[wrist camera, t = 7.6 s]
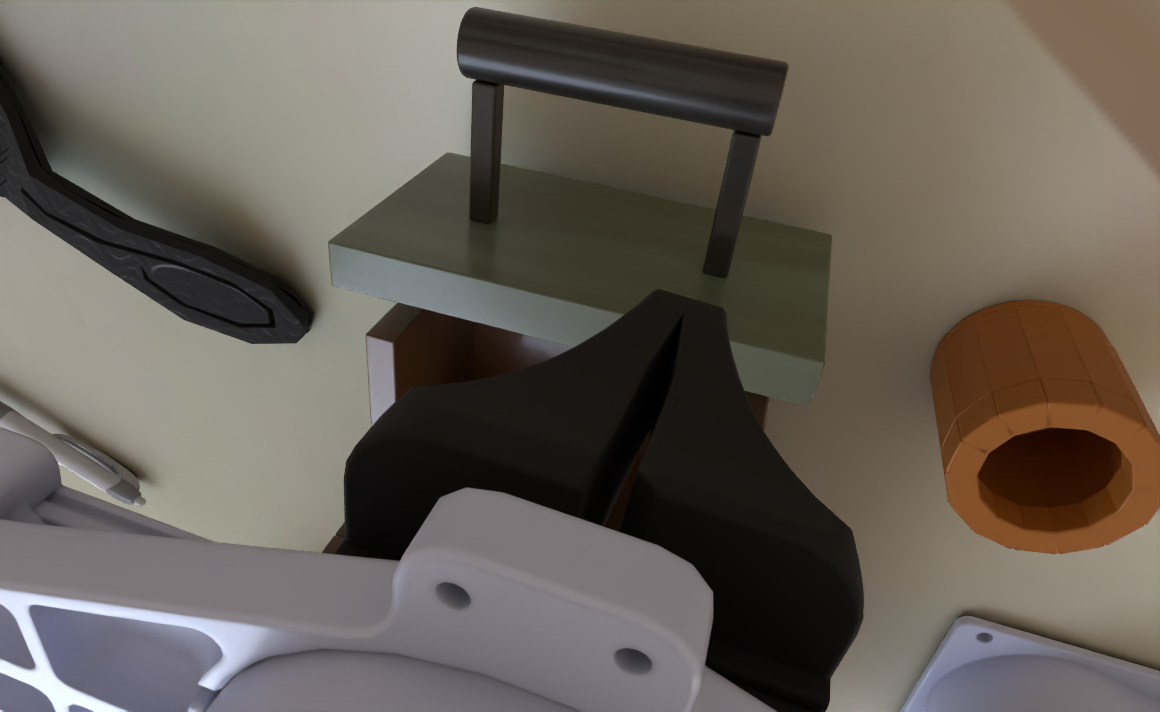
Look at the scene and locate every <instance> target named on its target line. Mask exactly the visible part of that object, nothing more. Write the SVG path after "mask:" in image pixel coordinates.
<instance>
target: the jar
mask: <svg viewBox="0 0 1160 712" xmlns="http://www.w3.org/2000/svg"><path fill="white" fill-rule="evenodd" d="M930 379H931V386H932V393H933V400H934V407H935V414H936V421H937V428H938V435H939V442H940V448H941V455H942V462H943V469H944V476H945V483H946V489H947V496H948V502H949V503H950V506H951V507H952V508H953V509H954V510H955V511H956V512H957V514H958V515H959V516H960V517H961V518H962V519H963V520H964V522H965V523H966V524H967V525H968V526H969V527H970V528H971V529H972V530H974V532H975V533H977V534H979V535H981V536H984V537H986V538H988V539H990V540H992V541H994V542H997V543H999V544H1001V545H1003V546H1005V547H1007V548H1010V549H1011V548H1013V549H1016V550H1024V551H1033V552H1041V553H1050V554H1057V553H1060V554H1063V553H1069V552H1075V551H1081V550H1087V549H1093V548H1098V547H1103V546H1104V544H1105V545H1109V544H1111V543H1113V542H1115V541H1117V540H1118V539H1120V538H1122V537H1124V536H1126V535H1128V534H1130V533H1132V532H1133V531H1135V530H1137V529H1139V528H1141V527H1143V526H1144V524H1148V522H1149V521H1150V520H1151V518H1152V517H1153V516H1154V514H1155V513H1156V512H1157V510H1158V509H1159V508H1160V435H1159V433H1158V431H1157V429H1156V427H1155V425H1154V423H1153V421H1152V419H1151V417H1150V415H1149V413H1148V411H1147V410H1146V408H1145V406H1144V404H1143V402H1142V400H1141V398H1140V396H1139V394H1138V392H1137V390H1136V388H1135V386H1134V385H1133V383H1132V381H1131V379H1130V377H1129V375H1128V373H1127V371H1126V369H1125V367H1124V365H1123V363H1122V361H1121V360H1120V358H1119V356H1118V354H1117V352H1116V350H1115V349H1114V348H1113V346H1112V345H1111V344H1110V342H1109V340H1108V339H1107V337H1106V335H1105V334H1104V332H1103V331H1102V330H1101V329H1100V328H1099V327H1098V325H1097V324H1096V323H1095V322H1093V321H1092V320H1091V319H1090V318H1088V317H1087V316H1085V315H1084V314H1082V313H1080V312H1078V311H1076V310H1074V309H1072V308H1069V307H1067V306H1063V305H1060V304H1056V303H1051V302H1045V301H1033V300H1027V301H1014V302H1007V303H1002V304H998V305H995V306H991V307H989V308H986V309H983V310H981V311H979V312H977V313H975V314H973V315H971V316H969V317H968V318H966V319H964V320H963V321H961V322H960V323H959V324H958V325H956V326H955V327H954V328H953V329H952V330H951V331H950V332H949V333H948V334H947V335H946V336H945V337H944V339H943V340H942V342H941V343H940V344H939V346H938V348H937V350H936V352H935V354H934V357H933V360H932V365H931V372H930Z"/></svg>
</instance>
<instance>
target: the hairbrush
mask: <svg viewBox="0 0 1160 712" xmlns="http://www.w3.org/2000/svg"><path fill="white" fill-rule="evenodd" d="M0 196H1V197H6V198H7V199H8V200H9V201H10V202H12V203H13V204H14V205H15V206H17V207H18V208H19V209H20V210H21V211H23V212H24V213H25V214H26V215H28V216H29V217H30V218H31V219H33V220H34V221H36V222H37V223H39V224H40V225H42V226H43V227H45V228H46V229H48V230H49V231H51V232H52V233H54V234H55V235H57V236H58V237H60V238H61V239H63V240H64V241H66V242H67V243H69V244H70V245H71V246H73V247H74V248H76V249H77V250H79V251H80V252H82V253H83V254H85V255H86V256H88V257H89V258H91V259H92V260H94V261H95V262H97V263H98V264H100V265H101V266H103V267H104V268H106V269H107V270H109V271H110V272H112V273H113V274H115V275H116V276H118V277H119V278H121V279H122V280H124V281H125V282H127V283H128V284H130V285H132V286H133V287H135V288H136V289H138V290H139V291H141V292H142V293H144V294H145V295H147V296H148V297H150V298H151V299H153V300H154V301H156V302H158V303H159V304H161V305H162V306H164V307H165V308H167V309H168V310H170V311H171V312H173V313H174V314H176V315H177V316H179V317H180V318H182V319H184V320H186V321H189V322H192V323H195V324H197V325H200V326H203V327H206V328H209V329H212V330H214V331H217V332H220V333H223V334H226V335H229V336H231V337H234V338H237V339H240V340H243V341H245V342H248V343H251V344H276V343H297V342H298V341H299V340H300V339H301V338H302V337H303V336H304V335H305V334H306V333H307V332H309V329H310V325H311V322H312V318H313V314H314V313H313V312H312V311H311V310H310V309H309V308H308V307H307V306H306V305H305V304H304V303H303V302H302V301H301V299H300V298H299V297H298V296H297V295H296V294H295V293H294V292H293V291H292V290H291V289H290V288H289V287H288V286H287V285H286V284H285V283H284V282H283V281H282V280H281V279H280V278H278V277H276V276H274V275H272V274H270V273H268V272H266V271H264V270H262V269H259V268H257V267H255V266H253V265H251V264H249V263H247V262H245V261H243V260H241V259H239V258H237V257H234V256H232V255H230V254H228V253H226V252H224V251H222V250H220V249H218V248H216V247H213V246H210V245H207V244H204V243H202V242H199V241H196V240H193V239H190V238H187V237H184V236H181V235H178V234H176V233H173V232H170V231H167V230H164V229H161V228H158V227H155V226H152V225H150V224H147V223H144V222H141V221H138V220H135V219H133V218H132V217H130V216H128V215H127V214H125V213H123V212H121V211H120V210H118V209H116V208H115V207H113V206H111V205H109V204H108V203H106V202H104V201H103V200H101V199H99V198H98V197H96V196H94V195H92V194H91V193H89V192H87V191H86V190H84V189H82V188H80V187H79V186H77V185H75V184H74V183H72V182H70V181H69V180H67V179H65V178H63V177H62V176H60V175H58V174H57V173H55V172H53V171H52V169H51V167H50V165H49V163H48V160H47V158H46V156H45V154H44V151H43V149H42V147H41V145H40V143H39V140H38V138H37V136H36V134H35V131H34V129H33V127H32V125H31V123H30V120H29V118H28V116H27V114H26V112H25V110H24V108H23V106H22V104H21V102H20V100H19V99H18V97H17V95H16V93H15V91H14V89H13V87H12V85H11V83H10V81H9V79H8V77H7V75H6V73H5V71H4V69H3V67H2V65H1V63H0Z"/></svg>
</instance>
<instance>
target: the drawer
mask: <svg viewBox="0 0 1160 712" xmlns="http://www.w3.org/2000/svg"><path fill="white" fill-rule="evenodd" d="M457 61H458V66H459V69H460V72H461V73H462V74H463V75H464V76H465V77H466V78H470V79H476V80H475V81H474V82H473V84H472V124H471V157H467V156H463V155H458V154H453V153H449V152H447V153H446V154H444V155H443V156H442V157H440V158H439V159H438V160H436V161H435V162H434V163H432V164H431V165H430V166H428V167H427V168H426V169H424V170H423V171H422V172H420V173H419V174H418V175H416V176H415V177H414V178H412V179H411V180H410V181H408V182H407V183H406V184H404V185H403V186H402V187H400V188H399V189H398V190H396V191H395V192H394V193H392V194H391V195H390V196H388V197H387V198H386V199H384V200H383V201H382V202H380V203H379V204H378V205H376V206H375V207H374V208H372V209H371V210H370V211H368V212H367V213H366V214H364V215H363V216H362V217H360V218H359V219H358V220H356V221H355V222H354V223H352V224H351V225H350V226H348V227H347V228H346V229H344V230H343V231H342V232H340V233H339V234H338V235H336V236H335V237H334V238H332V239H331V240H330V241H329V242H328V247H329V258H330V269H331V280H332V285H333V286H335V287H339V288H343V289H347V290H351V291H355V292H359V293H363V294H367V295H371V296H375V297H379V298H383V299H387V300H390V301H394V302H398V303H397V304H396V305H395V306H394V307H393V308H392V309H391V310H390V311H389V312H388V313H387V314H386V315H385V316H384V317H383V318H382V319H381V320H380V321H379V322H378V323H377V324H376V325H375V326H374V327H373V328H372V329H371V330H370V331H369V332H368V333H367V334H366V349H367V364H368V380H369V395H370V410H371V426H373V425H374V423H375V422H376V421H377V420H378V419H379V417H380V416H381V415H382V414H383V413H384V412H385V411H386V410H387V409H388V408H389V407H390V406H391V405H392V404H393V403H395V402H396V401H397V400H398V399H399V398H400V397H402V396H403V395H404V394H405V393H406V392H407V391H408V390H409V389H410V388H411V387H414V386H429V385H440V384H451V383H460V382H467V381H473V380H478V379H483V378H489V377H493V376H497V375H502V374H506V373H509V372H512V371H516V370H519V369H522V368H525V367H528V366H531V365H534V364H538V363H541V362H543V361H546V360H548V359H551V358H553V357H555V356H557V355H559V354H562V353H564V352H566V351H568V350H570V349H571V348H573V347H575V346H577V345H579V344H580V343H582V342H584V341H586V340H587V339H589V338H591V337H592V336H594V335H596V334H597V333H599V332H601V331H602V330H604V329H605V328H607V327H608V326H609V325H611V324H612V323H614V322H615V321H617V320H618V319H619V318H621V317H622V316H624V315H625V314H626V313H627V312H629V311H630V310H631V309H633V308H634V307H635V306H636V305H637V304H639V303H640V302H641V301H642V300H643V299H644V298H646V297H647V296H648V295H649V294H650V293H651V292H653V291H655V290H657V289H661V290H664V291H668V292H671V293H675V294H678V295H681V296H685V297H688V298H692V299H695V300H699V301H702V302H705V303H709V304H712V305H716V306H719V307H723V309H724V311H725V312H726V314H727V330H728V336H729V341H730V346H731V350H732V354H733V358H734V361H735V364H736V367H737V371H738V374H739V377H740V380H741V383H742V385H743V388H744V390H745V393H746V395H747V398H748V400H749V403H750V405H751V407H752V409H753V411H754V413H755V415H756V417H757V419H758V421H759V423H760V425H761V427H762V429H763V430H764V429H765V422H766V416H767V409H768V403H769V397H772V398H776V399H780V400H784V401H788V402H791V403H795V404H799V405H803V406H810V404H811V401H812V398H813V395H814V393H815V390H816V387H817V384H818V381H819V378H820V375H821V373H822V370H823V367H824V364H825V349H826V332H827V314H828V296H829V279H830V261H831V243H832V235H831V234H826V233H822V232H817V231H812V230H808V229H803V228H798V227H794V226H789V225H784V224H780V223H775V222H770V221H766V220H761V219H756V218H752V217H747V216H743V211H744V207H745V203H746V199H747V195H748V191H749V187H750V183H751V178H752V174H753V170H754V166H755V162H756V158H757V154H758V150H759V145H760V141H761V137H762V136H770V135H771V134H772V131H773V128H774V124H775V120H776V116H777V112H778V108H779V104H780V100H781V96H782V92H783V88H784V84H785V80H786V76H787V72H788V68H789V66H788V63H786V62H783V61H777V60H771V59H766V58H760V57H754V56H749V55H743V54H737V53H732V52H726V51H721V50H715V49H709V48H704V47H698V46H692V45H687V44H681V43H676V42H670V41H664V40H659V39H653V38H647V37H642V36H636V35H630V34H625V33H619V32H614V31H608V30H602V29H597V28H591V27H585V26H580V25H574V24H569V23H563V22H557V21H552V20H546V19H540V18H535V17H529V16H524V15H518V14H512V13H507V12H501V11H495V10H490V9H484V8H478V7H473V8H470V9H469V10H468V11H467V12H466V13H465V15H464V17H463V19H462V22H461V25H460V28H459V33H458V39H457ZM504 85H506V86H511V87H517V88H522V89H527V90H532V91H537V92H542V93H547V94H552V95H558V96H563V97H568V98H573V99H578V100H583V101H588V102H593V103H599V104H604V105H609V106H614V107H619V108H624V109H629V110H634V111H639V112H645V113H650V114H655V115H660V116H665V117H670V118H675V119H680V120H686V121H691V122H696V123H701V124H706V125H711V126H716V127H721V128H727V129H732V130H734V132H733V135H732V139H731V144H730V148H729V153H728V157H727V162H726V166H725V171H724V176H723V180H722V185H721V189H720V194H719V198H718V203H717V207H716V210H714V209H710V208H705V207H700V206H696V205H691V204H686V203H682V202H677V201H672V200H668V199H663V198H658V197H654V196H649V195H644V194H640V193H635V192H630V191H626V190H621V189H616V188H612V187H607V186H602V185H598V184H593V183H589V182H584V181H579V180H575V179H570V178H565V177H561V176H556V175H551V174H547V173H542V172H537V171H533V170H528V169H523V168H519V167H514V166H509V165H505V164H500V163H501V142H502V121H503V100H504ZM650 430H651V429H650ZM649 435H650V431H649V433H648V435H647V437H646V440H645V442H644V444H643V446H642V448H641V450H640V452H639V454H638V456H637V458H636V460H635V463H634V465H633V467H632V469H631V471H630V473H629V475H628V477H627V479H626V481H625V483H624V485H623V487H622V490H621V492H620V494H619V496H618V498H617V500H616V502H615V504H614V506H613V508H612V510H611V512H610V515H609V517H608V520H607V522H606V524H605V527H606V528H609V529H612V530H615V531H618V532H620V529H621V526H622V522H623V519H624V515H625V511H626V508H627V504H628V501H629V497H630V494H631V490H632V487H633V483H634V480H635V476H636V473H637V470H638V468H639V465H640V463H641V461H642V458H643V456H644V454H645V451H646V449H647V444H648V439H649Z"/></svg>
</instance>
